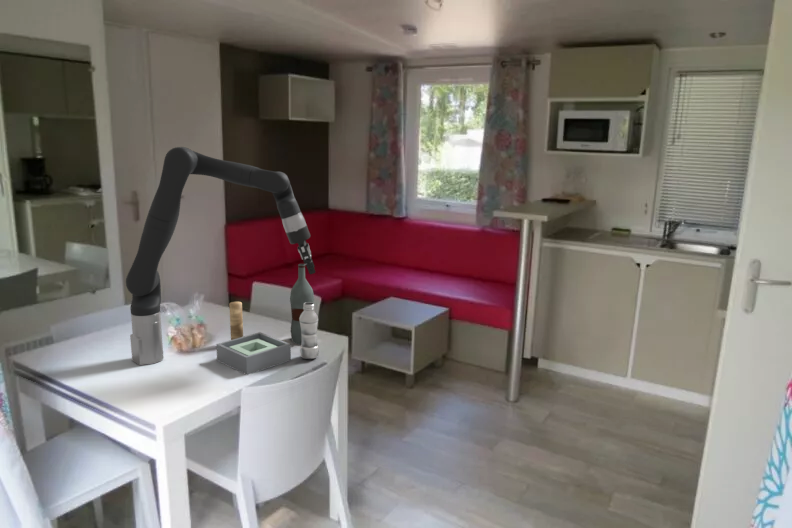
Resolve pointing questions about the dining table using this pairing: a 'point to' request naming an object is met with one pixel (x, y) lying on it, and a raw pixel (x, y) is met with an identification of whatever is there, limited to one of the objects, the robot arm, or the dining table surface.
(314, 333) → the plastic bottle
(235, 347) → the plate
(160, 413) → the dining table surface
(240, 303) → the peg
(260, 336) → the box
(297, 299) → the vodka
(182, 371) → the dining table surface
